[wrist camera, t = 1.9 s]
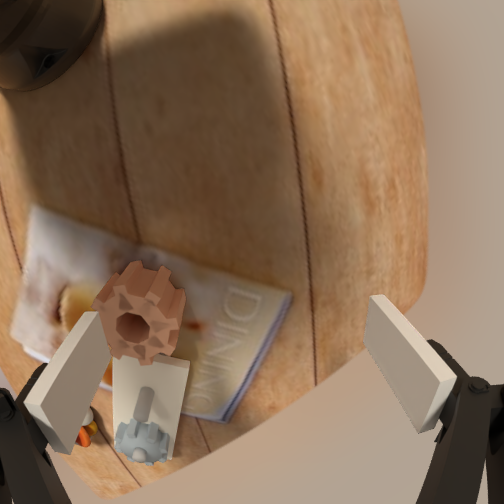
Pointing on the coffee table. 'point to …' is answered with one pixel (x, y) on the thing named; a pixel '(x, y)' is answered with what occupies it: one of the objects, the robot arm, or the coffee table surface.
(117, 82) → the coffee table surface
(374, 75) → the coffee table surface
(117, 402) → the gear board
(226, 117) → the coffee table surface
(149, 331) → the gear
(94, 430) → the white-domed colorful disc toy
